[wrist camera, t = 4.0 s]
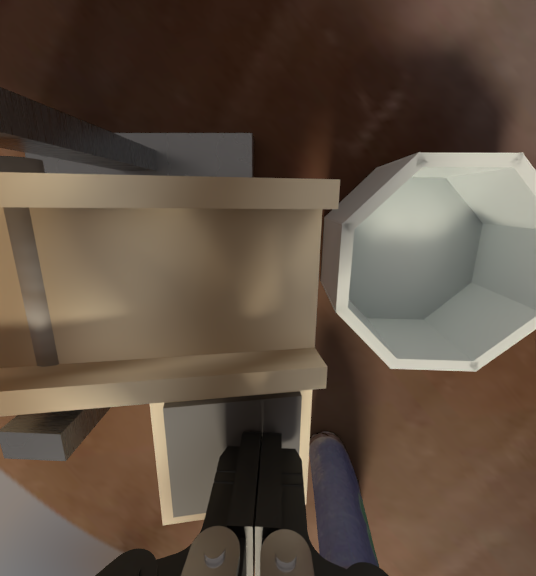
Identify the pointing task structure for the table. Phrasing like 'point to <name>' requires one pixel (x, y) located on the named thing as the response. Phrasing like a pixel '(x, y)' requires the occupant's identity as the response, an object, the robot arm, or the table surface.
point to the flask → (339, 504)
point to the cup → (436, 259)
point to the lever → (164, 308)
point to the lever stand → (113, 161)
